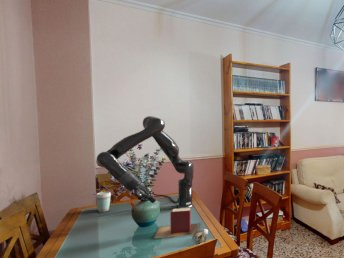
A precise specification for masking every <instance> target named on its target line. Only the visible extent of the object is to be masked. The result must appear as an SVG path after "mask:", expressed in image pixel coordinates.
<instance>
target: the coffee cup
mask: <svg viewBox="0 0 344 258" xmlns="http://www.w3.org/2000/svg"><path fill="white" fill-rule="evenodd" d="M111 196H112V193H111V191H99V192H98V193H96V195H95V199H96V205H97V211H98V213H105V212H108V211H109V210H110V205H111Z"/></svg>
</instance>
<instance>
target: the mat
mask: <svg viewBox="0 0 344 258" xmlns="http://www.w3.org/2000/svg"><path fill="white" fill-rule="evenodd" d="M199 226H200V223H191V229H190V232H180V233H170V225H167V226H159V227H158V229H157V230H156V232H155V234H154V237H153V239H159V238H160V239H161V238H170V237H179V236H180V237H181V236H182V237H183V236H191V235H193V234H194V233H195V232H196V229H197V230H199Z"/></svg>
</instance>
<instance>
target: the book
mask: <svg viewBox="0 0 344 258" xmlns="http://www.w3.org/2000/svg"><path fill="white" fill-rule="evenodd" d="M169 214H170V219H169V222H170V223H169V224H170V225H169V226H170V233H180V232H190V229H191V224H192V207H190V208H179V207H178V208H172V209H171V210H170V213H169Z"/></svg>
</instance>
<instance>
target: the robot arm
mask: <svg viewBox="0 0 344 258" xmlns="http://www.w3.org/2000/svg"><path fill="white" fill-rule="evenodd" d="M142 127H143V129H142V130H140V131H138V132H135V133H133V134H129V135H128V136H125V137H123V138H122V139H120V140H118V141H117V142H116V143H115V144H113V145H112V146H111V147H110V148H109V149H108V150H106V151H102V152H100V153H98V154H97V156H96V159H95V163H96V165H97V166H98V167H100V168H104V169H106V170H107V171H108V172H109V174H110V176H112V177H113V178H114V179H115V180H116V181H118V183H119V184H120V185H121V186H123V187H124V188H125V189H126V190H127V191H129V192H133V191H134V192H135V193H136V197H138V198H140V199H142V200H148V201H149V202H150V203H151V204H154V203H156V201H157V199H156V198H155V197H154V196H156V197H163V198H169V200H170V201H171V202H173V203H174V204H178V206H177V207H178V209H179V208H192V207H193V181H194V173H195V172H194V171H195V170H194V169H195V167H194V163H193V161H191V160H183V159H182V158H181V157H180V156H179V155H180V154H179V153H180V148H179V146H178V144H177V143H176V141H175V140H174V139H173V138H172V137H171V136H170V135H168V134H167V133H166V132H165V131H164V129H165V127H166V123H165V121H164V120H163V119H162V118H159V117H157V116H153V115H148V116H146V117H144V118H143V120H142ZM150 138H153V139H154V141H155V142H156V144H157V145H158V146H159V148H160V149H161V151H162V152H163V153H164V155H165V156H166V157H167V158H168V160H169V161H170V163H171V164H172V166H173V168H174V170H175V171H176V172H177V173H178V174H184V175H183V177H181V178H179V179H178V184H177V185H178V186H177V187H178V198H177V200H176V201H175V200H174V199H173V198H172V197H171V196H169V195H165V194H157V193H156V194H155V192H154V191H152V192H151V191H150V189H149V188H148V186H145V185H142V182H143V180H142V179H141V178H139V177H138V176H137V175H136V174H135V173H134V172H133V171H131V170H129V169H128V168H127V167H126V166H124V165H123V164H122V163H121V162H120V160H118V159H119V158H121V157H122V156H124V155H125V154H127V153H128V152H130V151H131V150H132V149H134V148H135V147H136V146H138V145H139V144H141V143H143V142H144V141H146V140H148V139H150Z"/></svg>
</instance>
